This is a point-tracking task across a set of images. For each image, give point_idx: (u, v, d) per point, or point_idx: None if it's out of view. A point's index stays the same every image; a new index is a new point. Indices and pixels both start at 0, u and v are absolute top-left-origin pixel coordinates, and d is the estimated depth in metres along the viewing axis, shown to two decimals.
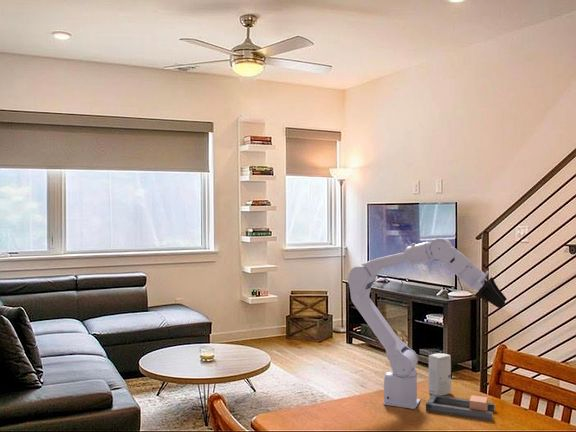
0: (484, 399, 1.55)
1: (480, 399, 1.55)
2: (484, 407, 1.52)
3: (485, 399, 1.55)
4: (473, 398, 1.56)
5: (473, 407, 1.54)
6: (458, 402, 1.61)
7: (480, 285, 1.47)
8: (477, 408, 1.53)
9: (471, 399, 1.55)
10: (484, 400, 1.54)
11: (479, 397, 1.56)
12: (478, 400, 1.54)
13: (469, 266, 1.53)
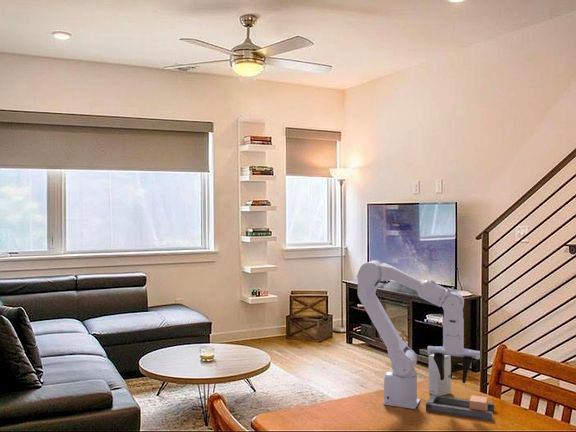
0: (484, 399, 1.55)
1: (480, 399, 1.55)
2: (484, 407, 1.52)
3: (485, 399, 1.55)
4: (473, 398, 1.56)
5: (473, 407, 1.54)
6: (458, 402, 1.61)
7: (479, 356, 1.56)
8: (477, 408, 1.53)
9: (471, 399, 1.55)
10: (484, 400, 1.54)
11: (479, 397, 1.56)
12: (478, 400, 1.54)
13: None
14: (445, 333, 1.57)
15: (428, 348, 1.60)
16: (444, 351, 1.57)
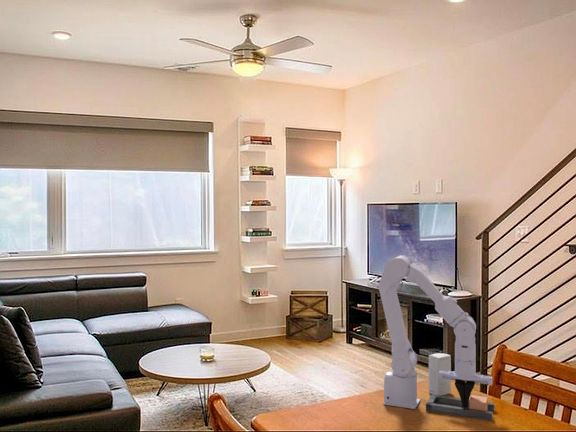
0: (484, 399, 1.55)
1: (480, 399, 1.55)
2: (484, 407, 1.52)
3: (485, 399, 1.55)
4: (473, 398, 1.56)
5: (473, 407, 1.54)
6: (458, 402, 1.61)
7: None
8: (477, 408, 1.53)
9: (471, 399, 1.55)
10: (484, 400, 1.54)
11: (479, 397, 1.56)
12: (478, 400, 1.54)
13: None
14: (457, 358, 1.56)
15: (440, 373, 1.59)
16: (456, 377, 1.56)
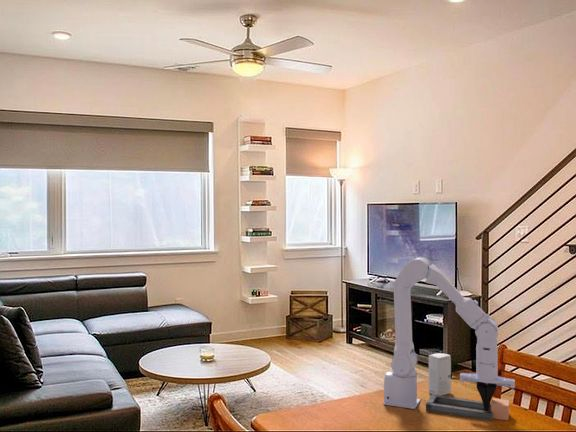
0: (506, 402, 1.53)
1: (502, 402, 1.53)
2: (506, 410, 1.50)
3: (507, 402, 1.53)
4: (494, 401, 1.54)
5: (495, 410, 1.51)
6: (458, 402, 1.61)
7: (514, 384, 1.52)
8: (499, 411, 1.51)
9: (493, 402, 1.53)
10: (506, 403, 1.52)
11: (501, 400, 1.54)
12: (499, 403, 1.52)
13: None
14: (478, 361, 1.53)
15: (460, 376, 1.57)
16: (478, 379, 1.53)
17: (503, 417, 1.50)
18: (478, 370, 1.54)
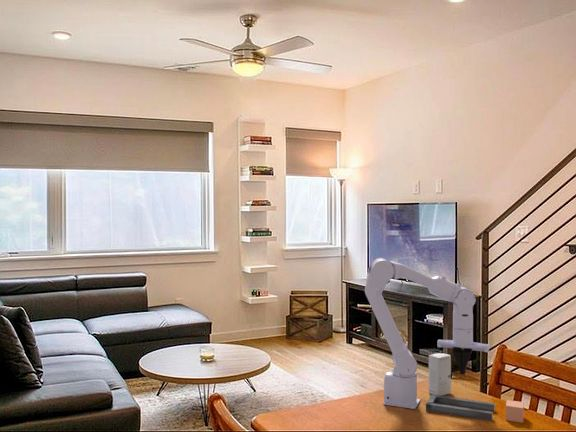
0: (521, 404, 1.51)
1: (516, 404, 1.51)
2: (521, 412, 1.48)
3: (522, 404, 1.51)
4: (509, 403, 1.52)
5: (510, 412, 1.50)
6: (458, 402, 1.61)
7: (488, 349, 1.59)
8: (513, 413, 1.49)
9: (507, 404, 1.51)
10: (521, 405, 1.50)
11: (516, 402, 1.52)
12: (514, 405, 1.50)
13: None
14: (457, 327, 1.60)
15: (438, 342, 1.64)
16: (454, 344, 1.61)
17: (518, 419, 1.49)
18: (454, 336, 1.61)
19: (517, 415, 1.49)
